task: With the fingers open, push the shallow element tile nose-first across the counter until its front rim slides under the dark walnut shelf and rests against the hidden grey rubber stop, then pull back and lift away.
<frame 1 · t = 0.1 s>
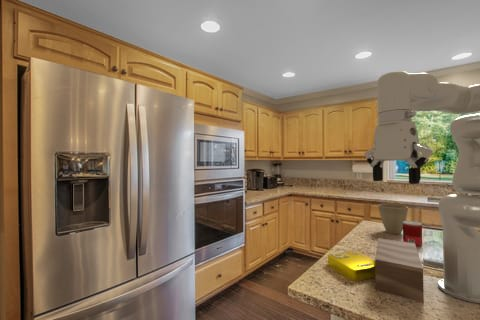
hand: (394, 182, 62), 37 cm above the counter, tool pointing down, fingers open, 9 cm apart
canned food: (412, 244, 117), on the counter
plant pot: (393, 232, 137), on the counter
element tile: (353, 270, 91), on the counter
overhang shelf: (386, 276, 85), on the counter
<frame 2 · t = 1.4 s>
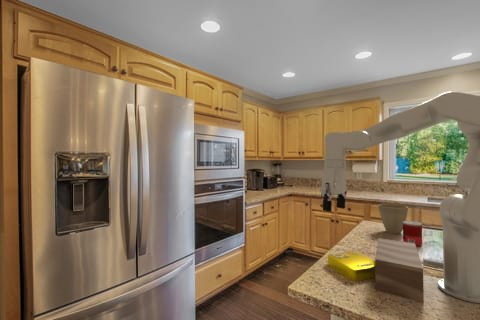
hand: (334, 209, 87), 25 cm above the counter, tool pointing down, fingers open, 9 cm apart
nothing on the counter moved.
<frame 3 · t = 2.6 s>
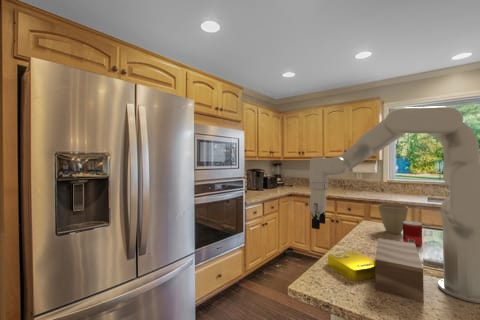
hand: (318, 225, 98), 15 cm above the counter, tool pointing down, fingers open, 9 cm apart
nothing on the counter moved.
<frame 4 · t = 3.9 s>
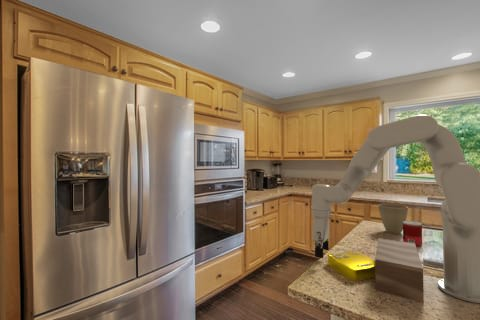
hand: (322, 253, 97), 4 cm above the counter, tool pointing down, fingers open, 9 cm apart
nothing on the counter moved.
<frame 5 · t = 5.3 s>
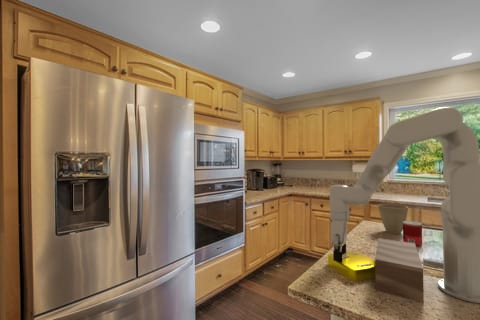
hand: (340, 256, 93), 4 cm above the counter, tool pointing down, fingers open, 9 cm apart
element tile: (353, 270, 90), on the counter, touching gripper
everything else where it was.
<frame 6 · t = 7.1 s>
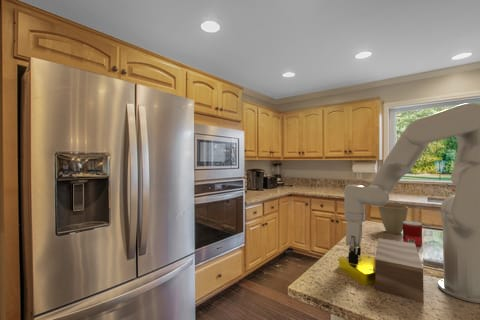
hand: (354, 258, 90), 4 cm above the counter, tool pointing down, fingers open, 9 cm apart
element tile: (366, 274, 87), on the counter
everything else where it was.
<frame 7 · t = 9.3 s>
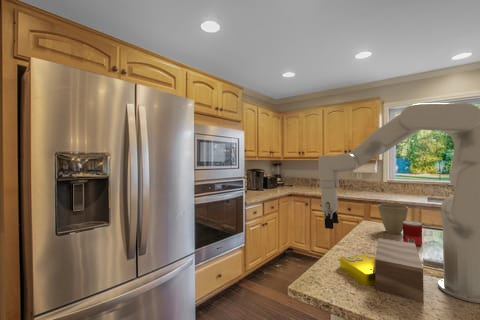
hand: (331, 225, 95), 16 cm above the counter, tool pointing down, fingers open, 9 cm apart
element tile: (367, 275, 87), on the counter, touching overhang shelf
everything else where it was.
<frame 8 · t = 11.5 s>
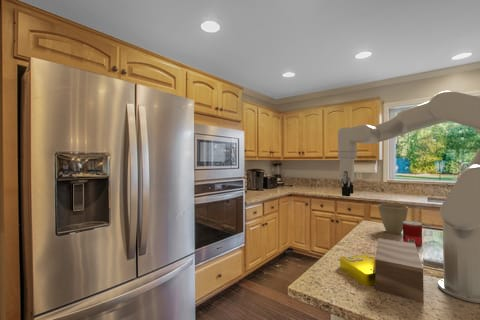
hand: (347, 194, 100), 28 cm above the counter, tool pointing down, fingers open, 9 cm apart
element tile: (367, 275, 87), on the counter
everything else where it was.
at the end: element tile 1.6 cm from the target spot on the overhang shelf, point -0.7 cm above the overhang shelf's base; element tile tilted 0° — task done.
